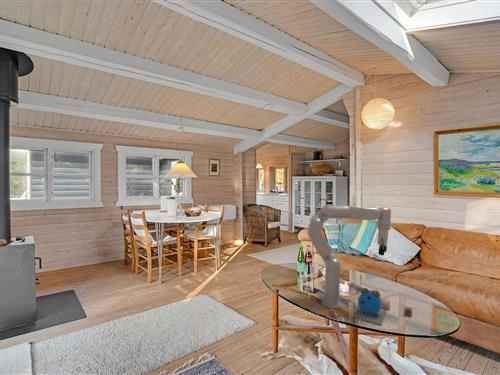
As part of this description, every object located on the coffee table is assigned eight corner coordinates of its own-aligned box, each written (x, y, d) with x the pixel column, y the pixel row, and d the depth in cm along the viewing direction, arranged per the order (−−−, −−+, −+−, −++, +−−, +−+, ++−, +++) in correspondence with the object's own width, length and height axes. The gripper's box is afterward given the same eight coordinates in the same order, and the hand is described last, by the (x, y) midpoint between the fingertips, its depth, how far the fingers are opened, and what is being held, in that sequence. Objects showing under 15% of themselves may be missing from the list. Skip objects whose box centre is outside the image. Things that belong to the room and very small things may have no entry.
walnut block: (404, 315, 184) (404, 309, 184) (404, 312, 188) (405, 306, 187) (411, 317, 182) (411, 310, 182) (411, 314, 185) (412, 308, 185)
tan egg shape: (380, 308, 193) (381, 301, 192) (382, 305, 197) (382, 298, 197) (389, 310, 190) (389, 303, 190) (390, 307, 194) (390, 300, 194)
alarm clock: (381, 314, 183) (382, 290, 182) (379, 318, 178) (380, 293, 177) (359, 308, 191) (360, 285, 190) (357, 312, 185) (358, 288, 185)
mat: (352, 317, 180) (352, 316, 179) (359, 305, 196) (359, 304, 196) (380, 325, 171) (380, 324, 171) (386, 312, 188) (386, 310, 188)
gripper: (379, 224, 199) (378, 249, 200) (375, 228, 184) (373, 255, 185) (392, 225, 195) (390, 251, 196) (388, 229, 180) (386, 257, 181)
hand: (382, 253), depth 191 cm, fingers open, 9 cm apart
